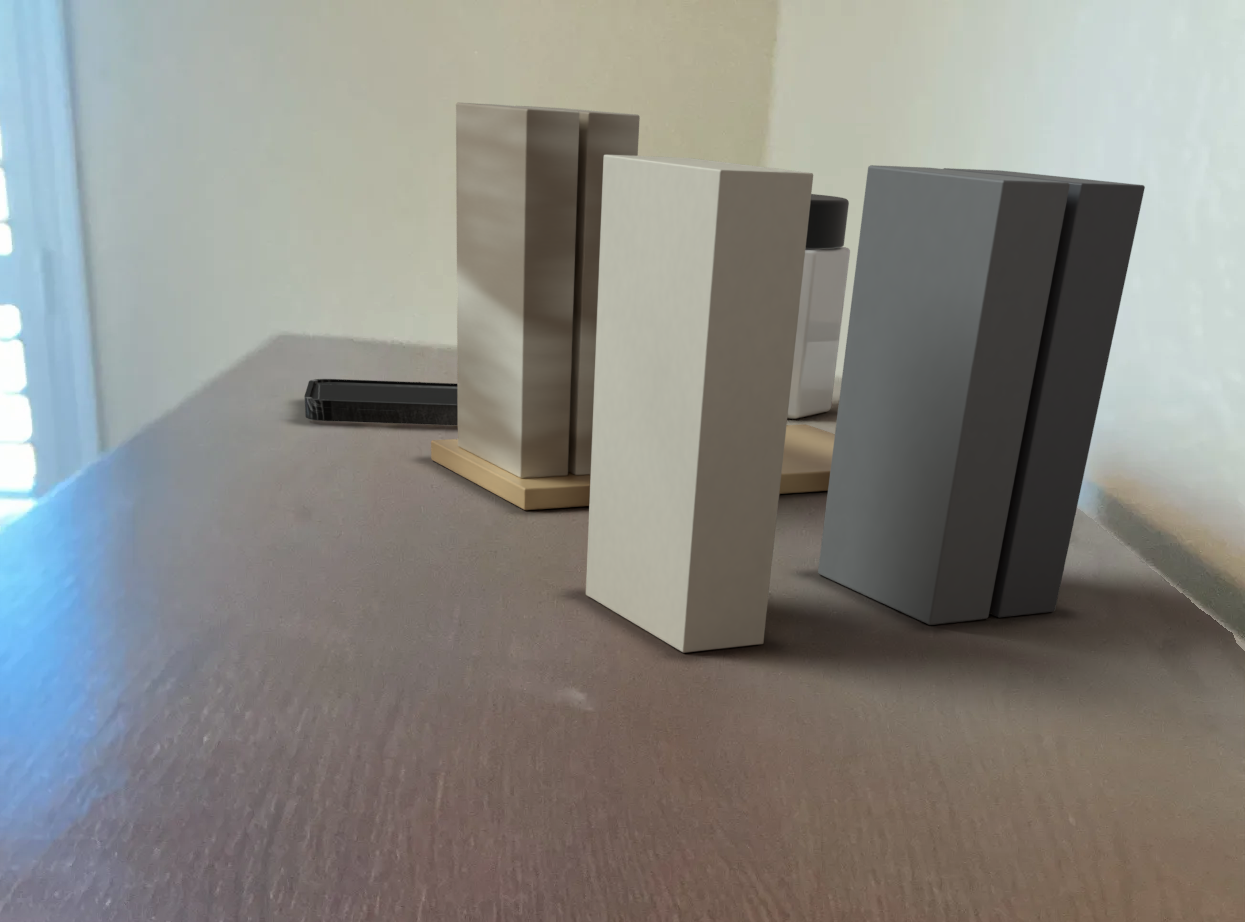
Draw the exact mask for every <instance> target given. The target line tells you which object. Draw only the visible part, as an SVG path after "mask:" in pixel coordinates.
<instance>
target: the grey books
mask: <svg viewBox="0 0 1245 922" xmlns="http://www.w3.org/2000/svg"><path fill="white" fill-rule="evenodd" d="M865 181H866V182H865V190H864V197H863V206H862V214H861V222H860V229H859V237H858V246H857V252H856V253H857V254H856V260H855V261H856V262H855V270H854V279H853V286H852V294H851V301H850V302H851V303H850V311H849V317H848V327H847V333H846V343H845V351H844V359H843V365H842V375H841V381H840V392H839V399H838V406H837V415H836V423H835V432H834V434H835V438H834V446H833V455H832V463H831V471H830V479H829V487H828V491H827V496H826V503H825V512H824V519H823V528H822V534H821V535H822V536H821V543H820V544H821V545H820V552H819V562H818V569H817V574H818V575H820V576H822V577H824V578H827V579H828V580H830V581H833V582H835V583H836V584H840V585H842V586H844V587H846V588H848V589H849V590H853V591H854V592H857V593H859V594H861V595H863V596H865V597H867V598H870V599H871V600H874V601H876V602H878V603H881V604H883V605H885V606H887V607H889V608H891V609H893V610H896V611H897V612H900V613H902V614H904V615H907V616H909V617H911V618H913V619H916V620H917V621H920V622H922V623H924V624H925V625H929V626H935V625H944V624H954V623H962V622H971V621H980V620H987V619H988V618H989V616H990V615H992V616H994V617H996V618H998V619H1001V618H1009V617H1019V616H1027V615H1037V614H1046V613H1053V612H1055V611H1056V607H1057V604H1058V599H1059V593H1060V588H1061V585H1062V579H1063V574H1064V570H1065V565H1066V561H1067V556H1068V551H1069V546H1070V543H1071V542H1070V541H1071V537H1072V533H1073V527H1074V523H1075V518H1076V515H1077V514H1076V513H1077V509H1078V505H1079V499H1080V495H1081V490H1082V485H1083V480H1084V476H1085V471H1086V467H1087V462H1088V458H1089V452H1090V447H1091V444H1092V438H1093V434H1094V428H1095V425H1096V419H1097V414H1098V410H1099V405H1100V400H1101V397H1102V396H1101V395H1102V392H1103V386H1104V381H1105V377H1106V372H1107V367H1108V363H1109V359H1110V352H1111V349H1112V343H1113V339H1114V335H1115V330H1116V326H1117V322H1118V321H1117V320H1118V316H1119V311H1120V306H1121V302H1122V298H1123V292H1124V288H1125V283H1126V278H1127V275H1128V274H1127V273H1128V270H1129V269H1128V268H1129V264H1130V259H1131V255H1132V249H1133V245H1134V242H1135V241H1134V240H1135V236H1136V232H1137V227H1138V223H1139V222H1138V221H1139V217H1140V213H1141V212H1140V211H1141V208H1142V203H1143V199H1144V193H1145V188H1146V187H1145V185H1144V184H1136V183H1128V182H1127V183H1125V182H1116V181H1106V180H1097V179H1096V180H1095V179H1087V178H1078V177H1068V176H1058V175H1048V174H1039V173H1028V172H1019V171H1010V170H996V169H971V168H952V167H951V168H950V167H949V168H948V167H947V168H946V167H944V168H938V167H927V166H926V167H925V166H924V167H923V166H921V167H920V166H902V165H901V166H897V165H873V164H871V165H868V167H867V173H866V180H865Z"/></svg>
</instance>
